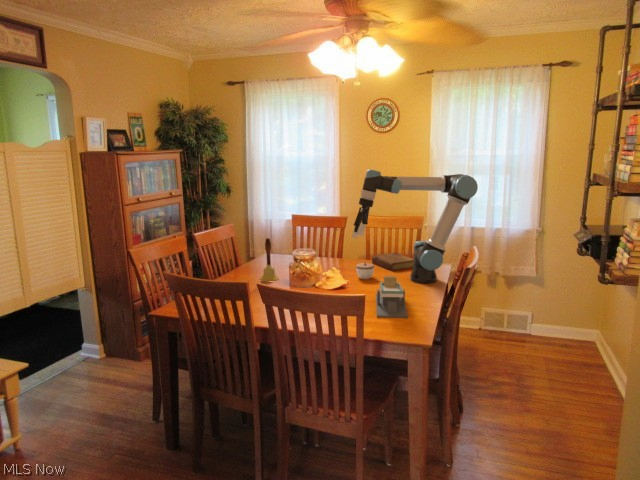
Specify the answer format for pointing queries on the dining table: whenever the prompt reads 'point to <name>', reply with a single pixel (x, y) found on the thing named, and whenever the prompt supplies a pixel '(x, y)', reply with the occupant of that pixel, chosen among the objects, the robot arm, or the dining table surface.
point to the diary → (393, 261)
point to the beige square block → (390, 281)
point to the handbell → (268, 265)
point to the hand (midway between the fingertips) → (357, 236)
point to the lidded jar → (365, 270)
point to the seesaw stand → (391, 306)
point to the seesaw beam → (391, 291)
